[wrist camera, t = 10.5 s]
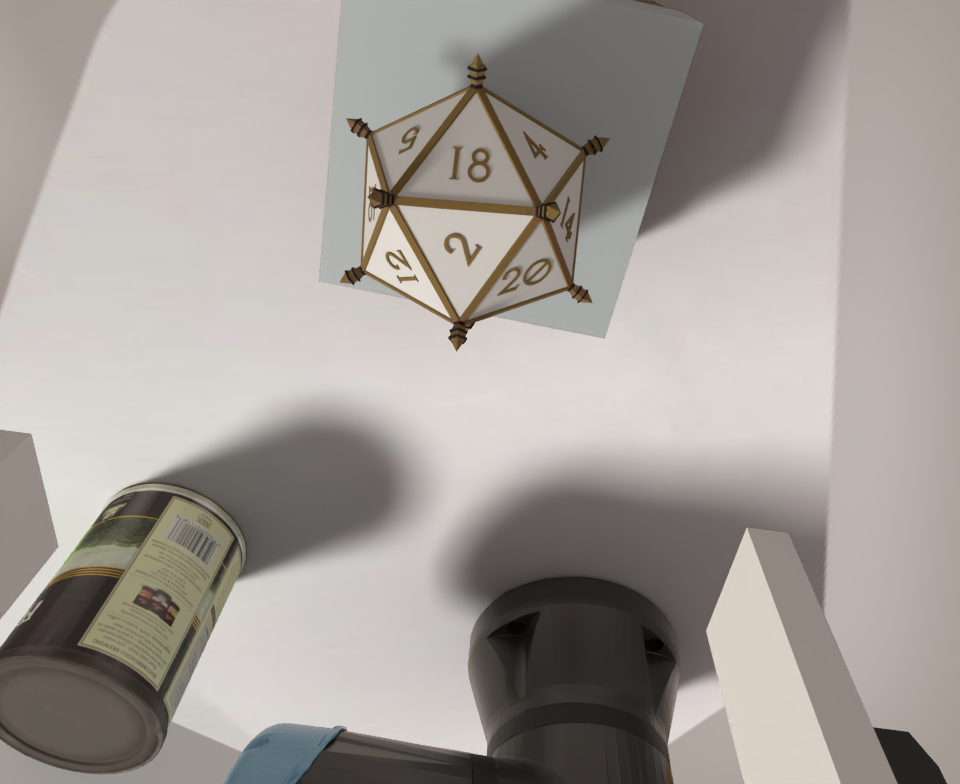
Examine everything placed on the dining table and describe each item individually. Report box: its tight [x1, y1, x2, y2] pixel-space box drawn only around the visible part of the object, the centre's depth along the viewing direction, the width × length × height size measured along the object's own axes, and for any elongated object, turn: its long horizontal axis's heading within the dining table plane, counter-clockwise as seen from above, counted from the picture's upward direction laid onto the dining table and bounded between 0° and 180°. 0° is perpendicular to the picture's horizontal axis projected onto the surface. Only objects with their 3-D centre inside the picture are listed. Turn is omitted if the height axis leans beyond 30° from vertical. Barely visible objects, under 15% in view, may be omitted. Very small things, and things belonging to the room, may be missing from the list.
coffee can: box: [0, 484, 246, 774], centre depth 46 cm, size 10×10×14 cm
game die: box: [339, 54, 610, 352], centre depth 24 cm, size 9×8×10 cm
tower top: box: [319, 0, 704, 339], centre depth 30 cm, size 12×12×5 cm
